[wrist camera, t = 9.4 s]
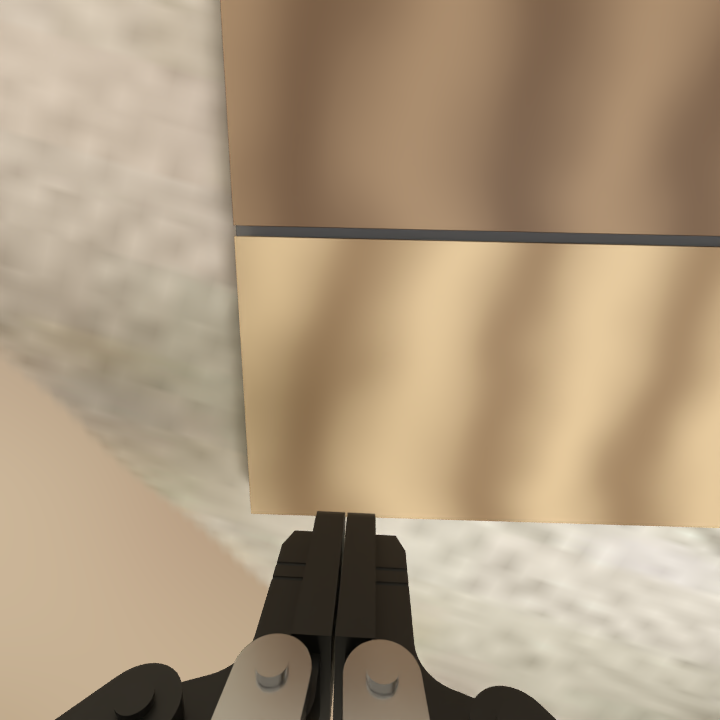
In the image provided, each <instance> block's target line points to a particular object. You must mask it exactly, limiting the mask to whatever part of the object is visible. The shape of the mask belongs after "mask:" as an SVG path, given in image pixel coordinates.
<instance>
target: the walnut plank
mask: <svg viewBox="0 0 720 720" xmlns="http://www.w3.org/2000/svg"><path fill="white" fill-rule="evenodd" d="M220 4H221V21H222V38H223V55H224V72H225V89H226V106H227V123H228V140H229V157H230V174H231V191H232V208H233V225H240V226H269V227H314V228H358V229H403V230H448V231H493V232H537V233H582V234H627V235H672V236H717V237H720V0H220Z"/></svg>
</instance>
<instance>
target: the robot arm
mask: <svg viewBox="0 0 720 720" xmlns="http://www.w3.org/2000/svg"><path fill="white" fill-rule="evenodd" d="M333 685H334V702H333V720H556V719H555V718H554V717H553V716H552V715H551V714H550V713H549V712H548V711H547V710H546V709H544V708H543V707H542V706H541V705H540V704H539V703H538V702H537V701H536V700H534V699H533V698H532V697H530V696H529V695H527V694H526V693H524V692H522V691H520V690H517V689H514V688H511V687H506V686H494V687H489V688H487V689H485V690H483V691H482V692H480V693H479V694H478V695H477V696H476V698H472V697H470V696H467V695H465V694H462V693H460V692H457V691H455V690H452V689H450V688H448V687H446V686H444V685H442V684H441V683H439V682H438V681H436V680H435V679H434V678H433V677H432V676H431V675H430V674H429V673H428V672H427V671H426V670H425V669H424V667H423V666H422V664H421V663H420V661H419V659H418V657H417V654H416V651H415V646H414V637H413V626H412V616H411V605H410V595H409V587H408V574H407V563H406V553H405V550H404V548H403V547H402V545H401V544H400V542H399V540H398V539H397V537H396V536H388V535H376V528H375V514H372V513H353V512H348V513H347V523H346V533H345V512H331V511H317V514H316V518H315V523H314V528H313V532H311V531H294V532H293V533H292V534H291V535H290V537H289V538H288V539H287V540H286V541H285V542H284V543H283V544H282V547H281V551H280V554H279V557H278V561H277V565H276V567H275V571H274V574H273V579H272V581H271V584H270V587H269V591H268V594H267V597H266V600H265V604H264V607H263V610H262V614H261V617H260V620H259V624H258V627H257V630H256V634H255V637H254V639H253V641H252V642H251V643H250V644H249V645H247V646H246V647H245V648H244V649H243V650H242V651H241V653H240V654H239V656H238V657H237V659H236V661H235V663H233V664H232V665H231V666H229V667H227V668H225V669H223V670H221V671H219V672H217V673H214V674H211V675H207V676H203V677H200V678H195V679H192V680H188V681H184V682H181V680H180V677H179V676H178V674H177V672H176V671H175V670H174V669H172V668H171V667H169V666H167V665H164V664H159V663H149V664H143V665H140V666H136V667H134V668H131V669H129V670H127V671H125V672H123V673H122V674H120V675H119V676H117V677H116V678H114V679H113V680H111V681H110V682H108V683H107V684H105V685H104V686H103V687H101V688H100V689H98V690H97V691H95V692H94V693H93V694H91V695H90V696H88V697H87V698H85V699H84V700H83V701H81V702H80V703H78V704H77V705H76V706H74V707H72V708H71V709H70V710H68V711H67V712H65V713H64V714H63V715H61V716H60V717H58V718H57V719H55V720H330V717H331V706H332V695H333Z"/></svg>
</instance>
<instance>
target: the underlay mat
mask: <svg viewBox="0 0 720 720" xmlns="http://www.w3.org/2000/svg"><path fill="white" fill-rule="evenodd" d="M236 234H237V236H281V237H325V238H369V239H413V240H458V241H502V242H546V243H590V244H635V245H679V246H720V237H717V236H672V235H627V234H582V233H537V232H493V231H448V230H403V229H358V228H314V227H269V226H240V225H236Z"/></svg>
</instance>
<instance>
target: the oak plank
mask: <svg viewBox="0 0 720 720" xmlns="http://www.w3.org/2000/svg"><path fill="white" fill-rule="evenodd" d="M234 242H235V258H236V274H237V291H238V307H239V323H240V340H241V356H242V372H243V389H244V405H245V421H246V438H247V454H248V470H249V487H250V503H251V514H278V515H311V516H316V514H317V511H331V512H345V517H347V513H348V512H353V513H372V514H375V517H377V518H410V519H442V520H475V521H508V522H541V523H574V524H607V525H640V526H673V527H706V528H720V246H679V245H635V244H590V243H546V242H502V241H458V240H413V239H369V238H325V237H281V236H234Z"/></svg>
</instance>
